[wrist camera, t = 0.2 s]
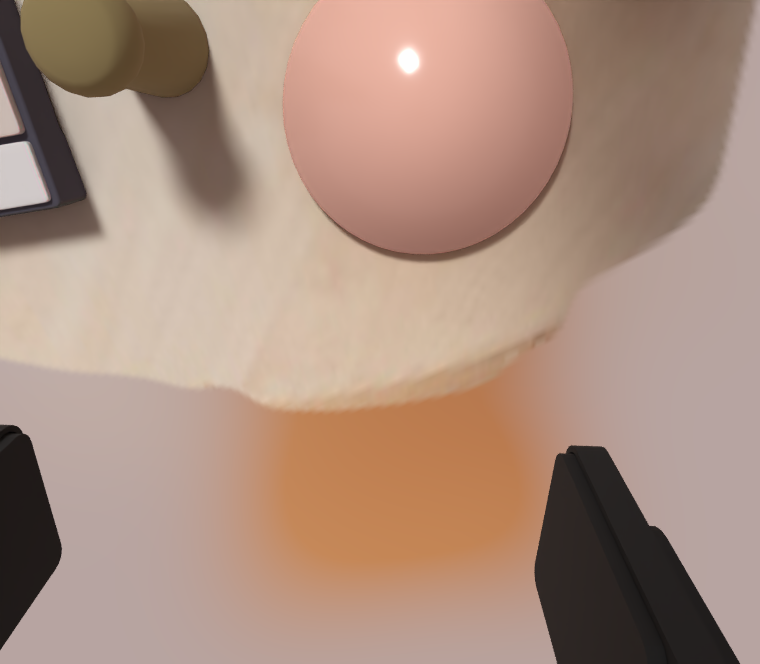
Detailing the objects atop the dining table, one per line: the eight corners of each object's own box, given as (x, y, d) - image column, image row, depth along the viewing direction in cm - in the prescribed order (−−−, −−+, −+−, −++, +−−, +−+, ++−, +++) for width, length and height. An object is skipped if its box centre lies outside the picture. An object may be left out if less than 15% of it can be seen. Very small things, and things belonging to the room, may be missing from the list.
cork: (166, -35, 33) (66, -80, 23) (228, 64, 35) (161, 63, 25) (89, 24, 34) (-37, 6, 24) (153, 116, 36) (62, 134, 26)
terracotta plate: (420, -136, 30) (420, -143, 29) (628, 102, 35) (634, 103, 34) (230, 126, 36) (225, 127, 35) (429, 298, 41) (430, 304, 40)
